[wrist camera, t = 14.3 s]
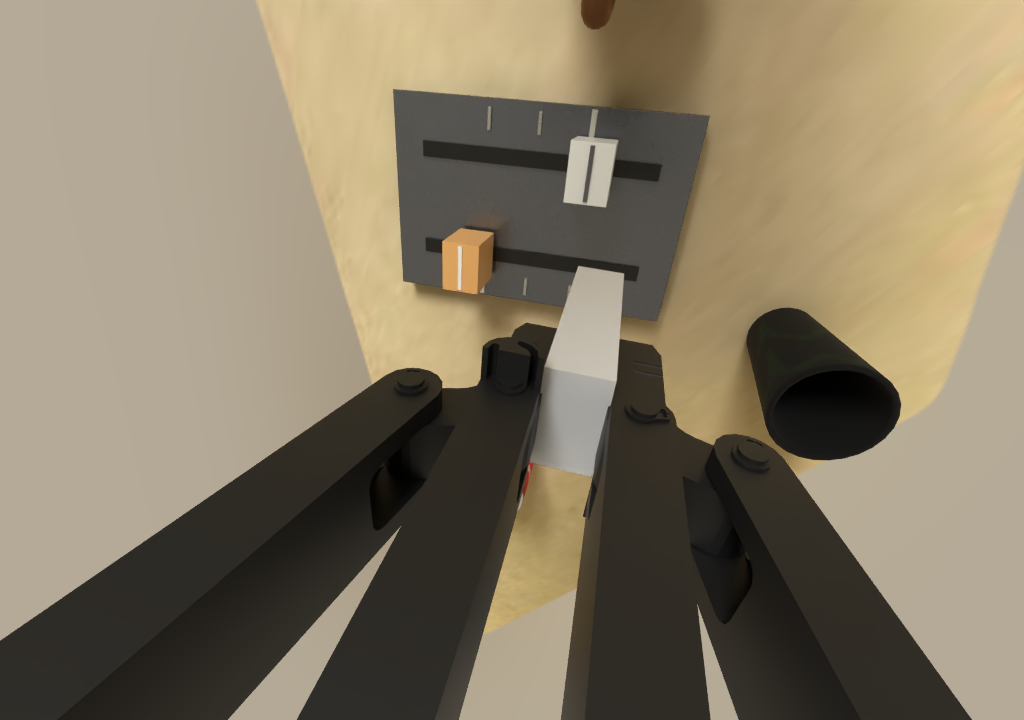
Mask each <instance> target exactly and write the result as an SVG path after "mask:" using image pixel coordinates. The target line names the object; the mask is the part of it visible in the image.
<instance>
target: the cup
mask: <svg viewBox="0 0 1024 720" xmlns="http://www.w3.org/2000/svg"><path fill="white" fill-rule="evenodd" d="M747 346H748V351H749V355H750V359H751V364H752V368H753V372H754V376H755V381H756V385H757V389H758V394H759V398H760V402H761V406H762V411H763V415H764V419H765V424H766V427H767V429H768V432H769V435H770V436H771V438H772V439H773V440H774V441H775V443H776V444H777V445H779V446H780V447H781V448H783V449H784V450H785V451H787V452H789V453H791V454H794V455H796V456H798V457H803V458H807V459H812V460H835V459H842V458H846V457H850V456H854V455H857V454H860V453H862V452H864V451H866V450H868V449H870V448H872V447H874V446H875V445H877V444H878V443H879V442H881V441H882V440H883V439H885V438H886V436H887V435H888V434H889V433H890V432H891V431H892V429H894V427H895V425H896V423H897V421H898V419H899V417H900V409H901V402H900V398H899V393H898V392H897V390H896V389H895V387H894V386H893V384H892V383H891V382H890V381H889V380H888V379H887V378H885V377H884V376H883V375H882V374H881V373H879V372H878V371H877V370H876V369H874V368H873V367H872V366H871V365H870V364H868V363H867V362H866V361H865V360H863V359H862V358H861V357H860V356H859V355H857V354H856V353H855V352H854V351H852V350H851V349H850V348H849V347H848V346H846V345H845V344H844V343H843V342H841V341H840V340H839V339H838V338H837V337H835V336H834V335H833V334H832V333H831V332H829V331H828V330H827V329H826V328H824V327H823V326H822V325H821V324H820V323H818V322H817V321H816V320H815V319H813V318H812V317H811V316H810V315H808V314H807V313H806V312H804V311H801V310H799V309H794V308H780V309H776V310H772V311H770V312H768V313H765V314H764V315H762V316H761V317H759V318H758V319H757V320H756V321H755V322H754V323H753V324H752V326H751V328H750V329H749V331H748V335H747Z"/></svg>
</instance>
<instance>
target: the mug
mask: <svg viewBox="0 0 1024 720" xmlns="http://www.w3.org/2000/svg"><path fill="white" fill-rule="evenodd" d="M614 4H615V0H582V3H581V15H582V18H583V21H584V23H585V25H586V26H587V27H588V28H591V29H599V28H601V27H603V26H604V25H605V24H606V23H607V22H608V20H609V18H610V16H611V13H612V10H613V7H614Z"/></svg>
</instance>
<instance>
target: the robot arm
mask: <svg viewBox="0 0 1024 720" xmlns="http://www.w3.org/2000/svg"><path fill="white" fill-rule="evenodd" d="M623 282H624V273H618V272H612V271H606V270H600V269H594V268H588V267H582V266H578V269H577V272H576V274H575V277H574V280H573V283H572V286H571V289H570V292H569V295H568V298H567V301H566V304H565V307H564V310H563V313H562V316H561V319H560V322H559V325H558V328H551V327H546V326H541V325H536V324H530V323H525V324H524V325H522V326H520V327H519V328H517V329H515V331H514V333H513V335H512V337H505V338H497V339H494V340H491V341H488V342H487V343H486V344H485V345H484V346H483V351H482V366H481V379H480V381H479V383H478V385H477V386H474V387H469V388H442V381H441V379H440V378H439V376H438V375H436V374H434V373H433V372H431V371H428V370H424V369H420V368H406V369H401V370H396V371H394V372H392V373H390V374H387V375H386V376H384V377H383V378H381V379H380V380H378V381H377V382H375V383H374V384H373V385H371V386H370V387H368V388H367V389H365V390H364V391H362V392H361V393H359V394H358V395H357V396H355V397H354V398H352V399H351V400H349V401H348V402H347V403H345V404H344V405H342V406H341V407H339V408H338V409H336V410H335V411H333V412H332V413H330V414H329V415H328V416H326V417H325V418H323V419H322V420H320V421H319V422H317V423H316V424H314V425H313V426H312V427H310V428H309V429H307V430H306V431H304V432H303V433H301V434H300V435H299V436H297V437H296V438H294V439H293V440H291V441H290V442H288V443H287V444H285V445H284V446H283V447H281V448H280V449H278V450H277V451H275V452H274V453H272V454H271V455H269V456H268V457H267V458H265V459H264V460H262V461H261V462H259V463H258V464H256V465H255V466H254V467H252V468H251V469H249V470H248V471H247V472H245V473H243V474H242V475H240V476H239V477H238V478H236V479H235V480H233V481H232V482H230V483H229V484H227V485H226V486H225V487H223V488H221V489H220V490H219V491H217V492H216V493H214V494H213V495H211V496H210V497H208V498H207V499H206V500H204V501H203V502H201V503H200V504H198V505H197V506H195V507H194V508H192V509H191V510H190V511H188V512H187V513H185V514H184V515H182V516H181V517H179V518H178V519H176V520H175V521H174V522H172V523H171V524H169V525H168V526H166V527H165V528H163V529H162V530H161V531H159V532H158V533H156V534H155V535H153V536H152V537H150V538H149V539H147V540H146V541H144V542H143V543H142V544H140V545H139V546H137V547H136V548H134V549H133V550H132V551H130V552H128V553H127V554H126V555H124V556H123V557H121V558H120V559H118V560H117V561H115V562H114V563H113V564H111V565H110V566H108V567H107V568H105V569H104V570H102V571H101V572H99V573H98V574H97V575H95V576H94V577H92V578H91V579H89V580H88V581H86V582H85V583H84V584H82V585H81V586H79V587H78V588H76V589H75V590H73V591H72V592H70V593H69V594H68V595H66V596H65V597H63V598H62V599H60V600H59V601H57V602H56V603H54V604H53V605H51V606H50V607H49V608H48V609H46V610H44V611H43V612H42V613H40V614H38V615H37V616H36V617H34V618H33V619H31V620H30V621H28V622H27V623H25V624H24V625H22V626H21V627H20V628H18V629H17V630H15V631H14V632H12V633H11V634H10V635H8V636H6V637H5V638H4V639H2V640H1V641H0V720H228V719H229V717H230V716H231V715H232V714H233V713H234V712H235V711H236V710H237V709H238V707H239V706H240V705H241V704H242V703H243V702H244V701H245V699H246V698H247V697H248V696H249V695H250V694H251V693H252V692H253V691H254V689H256V687H257V686H258V685H259V684H260V683H261V682H262V681H263V679H264V678H265V677H266V676H267V675H268V674H269V673H270V672H271V671H272V669H273V668H274V667H275V666H276V665H277V664H278V663H279V662H280V660H281V659H282V658H283V657H284V656H285V655H286V654H287V653H288V652H289V650H290V649H291V648H292V647H293V646H294V645H295V644H296V643H297V642H298V640H299V639H300V638H301V637H302V636H303V635H304V634H305V633H306V631H307V630H308V629H309V628H310V627H311V626H312V625H313V624H314V622H315V621H316V620H317V619H318V618H319V617H320V616H321V615H322V613H323V612H324V611H325V610H326V609H327V608H328V607H329V606H330V605H331V604H332V602H333V601H334V600H335V599H336V598H337V597H338V596H339V594H340V593H341V592H342V591H343V590H344V589H345V588H346V587H347V586H348V584H349V583H350V582H351V581H352V580H353V579H354V578H355V577H356V576H357V574H358V573H359V572H360V571H361V570H362V569H363V568H364V566H365V565H366V564H367V563H368V562H369V561H370V560H371V559H372V558H373V557H374V555H375V554H376V553H377V552H378V551H379V550H380V548H382V546H383V545H384V544H385V543H386V542H387V541H388V540H389V539H390V538H391V536H392V535H393V534H394V533H395V532H396V531H397V529H399V527H400V526H401V525H402V526H401V528H400V529H399V531H398V533H397V535H396V537H395V539H394V541H393V542H392V544H391V546H390V548H389V550H388V552H387V554H386V555H385V557H384V559H383V561H382V563H381V565H380V566H379V568H378V570H377V572H376V574H375V576H374V578H373V580H372V581H371V583H370V585H369V587H368V589H367V591H366V592H365V594H364V596H363V598H362V600H361V602H360V604H359V605H358V608H357V609H356V611H355V613H354V615H353V617H352V618H351V620H350V622H349V624H348V626H347V628H346V630H345V631H344V633H343V635H342V637H341V639H340V641H339V643H338V644H337V646H336V648H335V650H334V652H333V654H332V656H331V657H330V659H329V661H328V663H327V665H326V667H325V668H324V671H323V672H322V674H321V676H320V678H319V680H318V681H317V683H316V685H315V687H314V689H313V691H312V692H311V694H310V696H309V698H308V700H307V702H306V704H305V706H304V707H303V709H302V711H301V713H300V715H299V717H298V719H297V720H459V716H460V713H461V709H462V706H463V702H464V699H465V695H466V691H467V688H468V684H469V681H470V677H471V674H472V670H473V667H474V663H475V659H476V656H477V652H478V649H479V645H480V641H481V638H482V635H483V631H484V628H485V624H486V620H487V617H488V613H489V610H490V606H491V603H492V599H493V596H494V592H495V589H496V585H497V581H498V578H499V574H500V571H501V567H502V564H503V560H504V557H505V553H506V549H507V546H508V542H509V539H510V535H511V532H512V528H513V525H514V521H515V518H516V514H517V510H518V507H519V503H520V500H521V496H522V493H523V489H524V486H525V482H526V478H527V472H528V465H529V461H530V463H534V464H538V465H543V466H547V467H551V468H555V469H560V470H564V471H568V472H572V473H576V474H581V475H585V476H589V477H592V475H593V479H592V483H591V487H590V491H589V495H588V499H587V502H586V506H585V510H584V514H583V517H586V520H585V528H584V536H583V544H582V553H581V561H580V569H579V577H578V585H577V593H576V601H575V609H574V617H573V626H572V634H571V642H570V650H569V658H568V666H567V674H566V682H565V691H564V699H563V707H562V715H561V720H710V711H709V703H708V694H707V685H706V677H705V668H704V659H703V651H702V642H701V634H700V625H699V616H698V607H699V610H700V612H701V615H702V618H703V621H704V623H705V626H706V629H707V632H708V635H709V638H710V640H711V643H712V646H713V649H714V651H715V654H716V657H717V660H718V663H719V665H720V668H721V671H722V674H723V677H724V679H725V682H726V685H727V688H728V691H729V694H730V696H731V699H732V702H733V705H734V707H735V710H736V713H737V716H738V719H739V720H972V719H971V718H970V716H969V715H968V714H967V712H966V711H965V710H964V708H963V707H962V705H961V704H960V703H959V701H958V700H957V698H956V697H955V696H954V694H953V693H952V691H951V690H950V689H949V687H948V686H947V685H946V683H945V682H944V680H943V679H942V678H941V676H940V675H939V673H938V672H937V671H936V669H935V668H934V666H933V665H932V664H931V663H930V661H929V660H928V658H927V657H926V655H925V654H924V653H923V651H922V650H921V649H920V647H919V646H918V644H917V643H916V642H915V640H914V639H913V637H912V636H911V635H910V633H909V632H908V630H907V629H906V628H905V626H904V625H903V624H902V622H901V621H900V619H899V618H898V617H897V615H896V614H895V613H894V611H893V610H892V608H891V607H890V606H889V604H888V603H887V601H886V600H885V599H884V597H883V596H882V594H881V593H880V592H879V590H878V589H877V588H876V586H875V585H874V584H873V582H872V581H871V579H870V578H869V576H868V575H867V574H866V572H865V571H864V570H863V568H862V567H861V566H860V564H859V562H858V561H857V560H856V558H855V557H854V556H853V554H852V553H851V552H850V550H849V549H848V547H847V546H846V544H845V543H844V542H843V540H842V539H841V538H840V536H839V535H838V533H837V532H836V531H835V529H834V528H833V526H832V525H831V524H830V522H829V521H828V519H827V518H826V517H825V515H824V514H823V513H822V511H821V510H820V508H819V507H818V506H817V504H816V503H815V501H814V500H813V499H812V497H811V496H810V495H809V493H808V492H807V490H806V489H805V488H804V486H803V485H802V483H801V482H800V481H799V479H798V478H797V477H796V475H795V474H794V472H793V471H792V470H791V468H790V467H789V465H788V464H787V463H786V461H785V460H784V459H783V458H782V457H781V456H780V455H779V454H778V453H777V452H776V451H775V450H774V449H772V448H771V447H769V446H768V445H766V444H765V443H763V442H761V441H759V440H757V439H754V438H751V437H748V436H743V435H737V434H731V435H723V436H721V437H720V438H718V439H716V442H715V444H714V446H713V445H711V444H708V443H706V442H704V441H701V440H699V439H697V438H694V437H692V436H691V435H689V434H687V433H685V432H684V431H682V430H681V429H679V428H678V427H677V425H676V419H675V417H674V414H673V412H672V411H671V410H670V409H669V408H668V407H667V406H666V404H665V393H664V382H663V378H662V377H663V372H662V361H661V355H660V354H659V353H658V352H657V350H656V349H655V348H654V347H653V345H648V344H643V343H638V342H633V341H627V340H622V339H620V325H621V311H622V297H623ZM530 457H531V458H530ZM593 471H594V474H593ZM697 604H698V607H697Z"/></svg>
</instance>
